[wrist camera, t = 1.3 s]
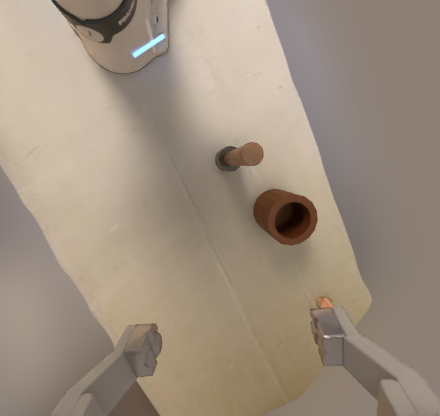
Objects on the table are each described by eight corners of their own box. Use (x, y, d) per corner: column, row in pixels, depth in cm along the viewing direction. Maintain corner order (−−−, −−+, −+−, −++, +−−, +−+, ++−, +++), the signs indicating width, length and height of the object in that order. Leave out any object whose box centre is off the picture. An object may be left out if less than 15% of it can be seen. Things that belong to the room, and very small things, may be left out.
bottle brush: (218, 146, 50) (238, 129, 26) (238, 151, 51) (275, 139, 27) (213, 168, 51) (229, 169, 27) (233, 172, 51) (266, 177, 28)
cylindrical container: (259, 185, 53) (275, 190, 42) (298, 193, 54) (323, 200, 43) (249, 225, 54) (262, 240, 43) (287, 232, 56) (309, 248, 45)
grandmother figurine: (336, 295, 60) (372, 329, 48) (333, 308, 61) (369, 344, 49) (309, 295, 60) (339, 329, 47) (307, 308, 60) (336, 345, 48)
